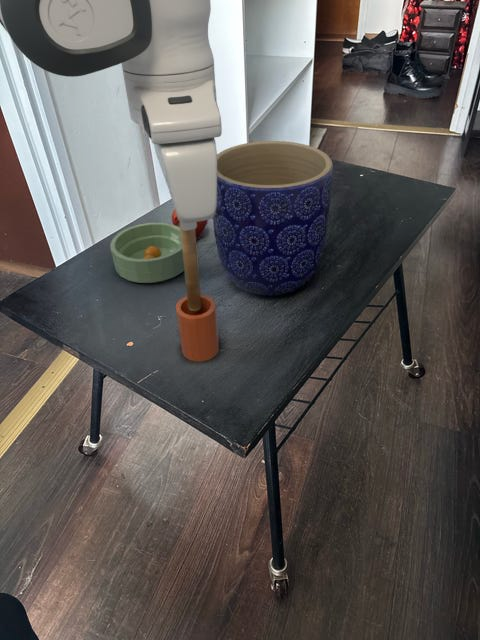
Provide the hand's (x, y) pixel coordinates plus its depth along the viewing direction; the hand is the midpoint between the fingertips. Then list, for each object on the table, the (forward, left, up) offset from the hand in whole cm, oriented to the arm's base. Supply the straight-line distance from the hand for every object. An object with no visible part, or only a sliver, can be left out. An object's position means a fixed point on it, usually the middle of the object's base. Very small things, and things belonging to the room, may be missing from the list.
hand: (186, 221), depth 56 cm
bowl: (-4, +25, -21) cm, 33 cm away
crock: (0, 0, -21) cm, 21 cm away
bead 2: (-5, +22, -19) cm, 29 cm away
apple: (+5, +33, -21) cm, 39 cm away
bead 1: (-4, +25, -19) cm, 31 cm away
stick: (0, 0, -14) cm, 14 cm away
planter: (+15, +15, -21) cm, 30 cm away
